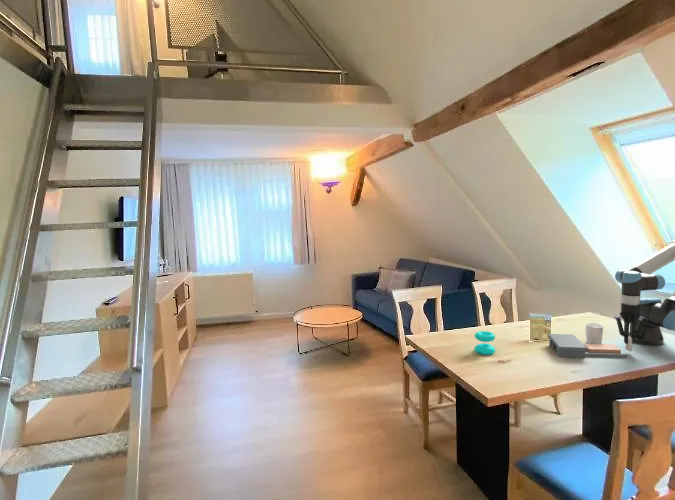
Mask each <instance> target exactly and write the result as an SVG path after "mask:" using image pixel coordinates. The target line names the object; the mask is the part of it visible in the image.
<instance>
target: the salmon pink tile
mask: <svg viewBox="0 0 675 500" xmlns="http://www.w3.org/2000/svg"><path fill="white" fill-rule="evenodd" d="M582 344H584V345H585V346H586V347H587V351H585V352H588V353H618V354H622V349H620V348H619V347H617V345H616V344H614V343H601V344H588V343H587V342H586V343H583V342H582Z"/></svg>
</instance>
